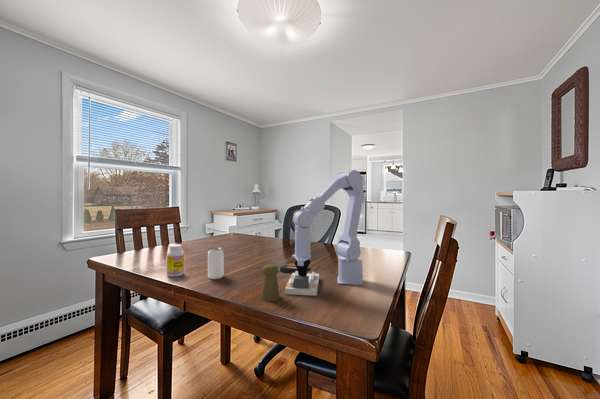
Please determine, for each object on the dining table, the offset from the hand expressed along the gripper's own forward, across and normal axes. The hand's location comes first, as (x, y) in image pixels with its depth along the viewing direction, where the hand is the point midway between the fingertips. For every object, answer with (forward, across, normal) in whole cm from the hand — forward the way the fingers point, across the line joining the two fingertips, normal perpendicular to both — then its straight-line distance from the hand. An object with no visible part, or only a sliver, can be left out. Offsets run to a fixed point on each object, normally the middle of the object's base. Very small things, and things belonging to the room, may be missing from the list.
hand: (302, 280), depth 93 cm
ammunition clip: (+2, -18, -8) cm, 19 cm away
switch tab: (+1, +4, 0) cm, 4 cm away
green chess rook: (+3, +10, -10) cm, 14 cm away
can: (+3, -9, -38) cm, 39 cm away
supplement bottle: (+3, -10, -57) cm, 58 cm away
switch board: (+3, -3, 0) cm, 4 cm away
